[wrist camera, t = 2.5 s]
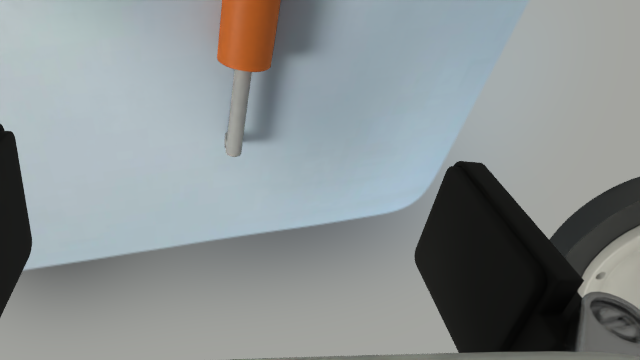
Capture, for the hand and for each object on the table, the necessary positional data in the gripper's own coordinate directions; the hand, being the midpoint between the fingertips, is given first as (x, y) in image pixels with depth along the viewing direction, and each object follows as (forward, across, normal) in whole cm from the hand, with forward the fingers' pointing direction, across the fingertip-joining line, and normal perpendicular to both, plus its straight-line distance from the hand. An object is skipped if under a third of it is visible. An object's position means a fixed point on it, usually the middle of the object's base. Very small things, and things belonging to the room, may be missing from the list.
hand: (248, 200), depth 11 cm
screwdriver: (+17, -1, +2) cm, 17 cm away
